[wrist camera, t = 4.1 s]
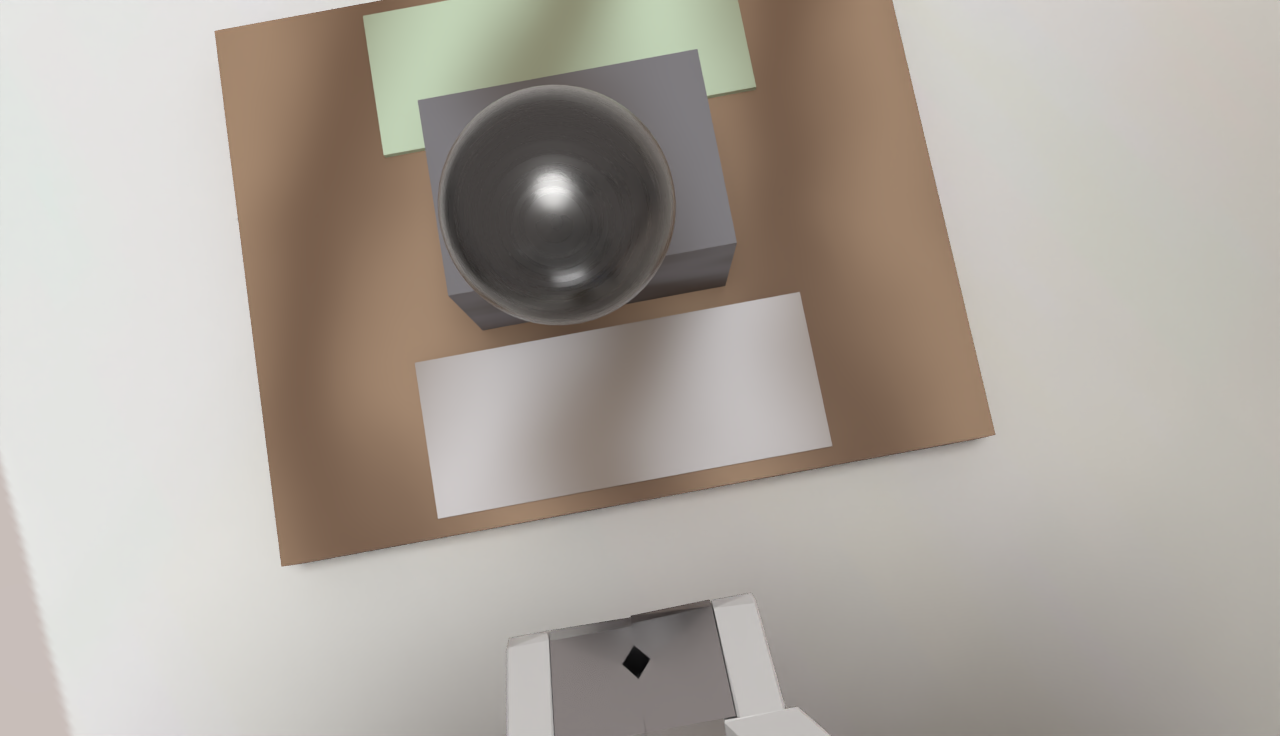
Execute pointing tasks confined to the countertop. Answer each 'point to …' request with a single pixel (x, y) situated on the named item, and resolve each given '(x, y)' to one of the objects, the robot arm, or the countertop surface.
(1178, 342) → the countertop surface
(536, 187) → the toggle lever
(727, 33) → the switch board
